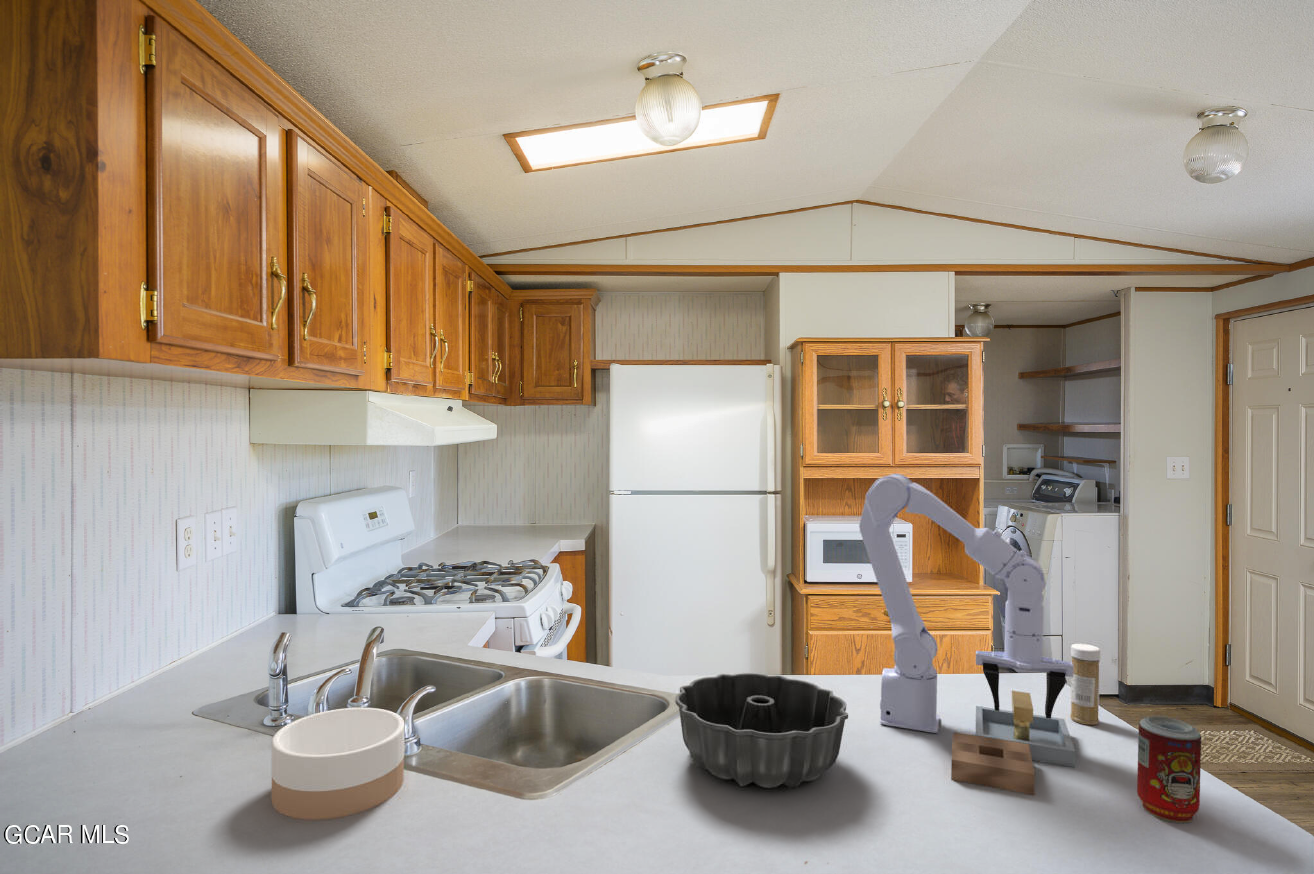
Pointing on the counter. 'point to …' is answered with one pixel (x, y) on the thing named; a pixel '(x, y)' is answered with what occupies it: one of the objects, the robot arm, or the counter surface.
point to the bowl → (337, 763)
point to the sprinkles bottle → (1085, 684)
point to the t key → (1022, 715)
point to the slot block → (992, 763)
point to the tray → (1045, 735)
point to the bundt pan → (761, 728)
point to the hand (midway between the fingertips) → (1022, 712)
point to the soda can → (1169, 768)
